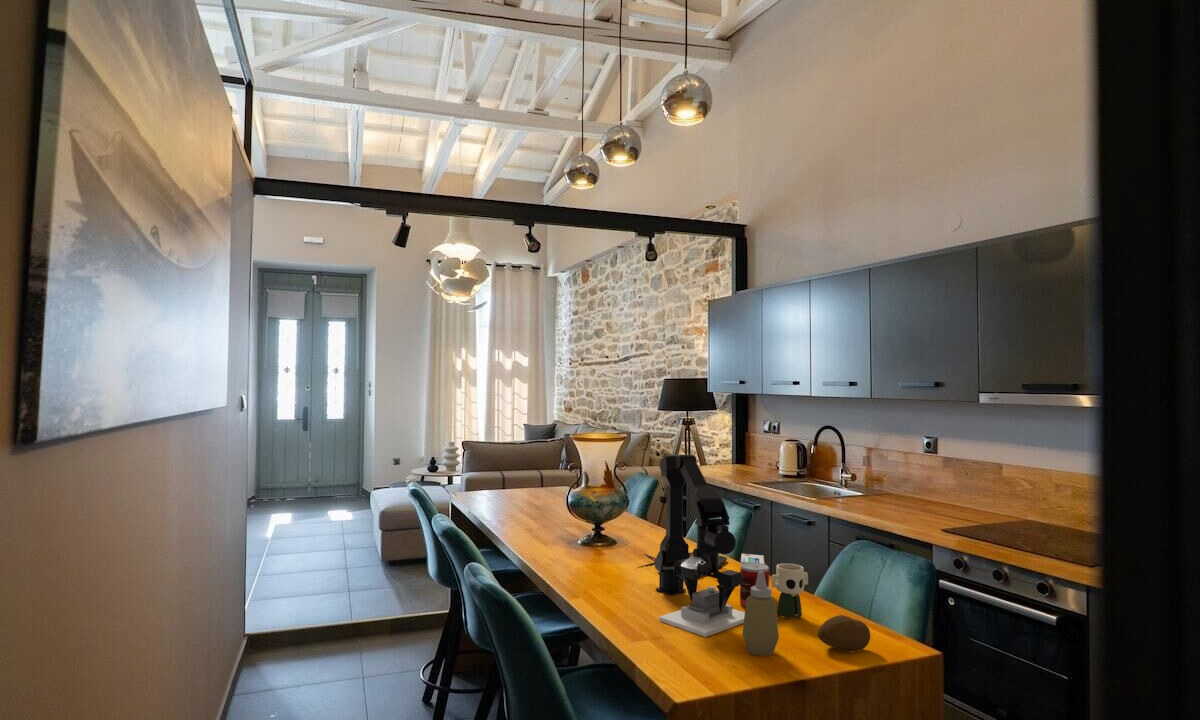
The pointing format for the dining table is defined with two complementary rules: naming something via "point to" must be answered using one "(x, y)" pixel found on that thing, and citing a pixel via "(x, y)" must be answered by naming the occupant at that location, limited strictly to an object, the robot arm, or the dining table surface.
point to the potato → (844, 633)
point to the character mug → (789, 588)
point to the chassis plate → (704, 620)
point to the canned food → (751, 579)
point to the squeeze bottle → (760, 620)
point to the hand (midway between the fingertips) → (706, 606)
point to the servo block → (706, 601)
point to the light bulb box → (752, 558)
